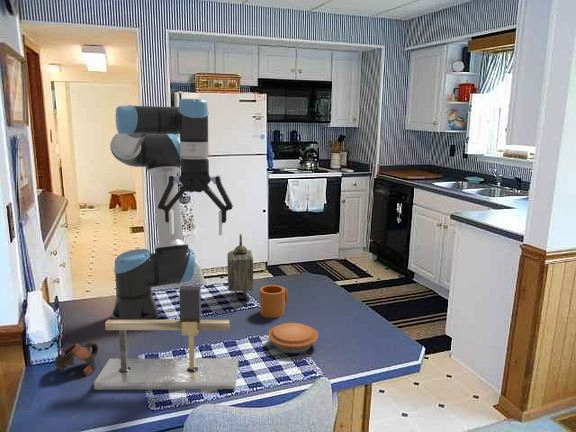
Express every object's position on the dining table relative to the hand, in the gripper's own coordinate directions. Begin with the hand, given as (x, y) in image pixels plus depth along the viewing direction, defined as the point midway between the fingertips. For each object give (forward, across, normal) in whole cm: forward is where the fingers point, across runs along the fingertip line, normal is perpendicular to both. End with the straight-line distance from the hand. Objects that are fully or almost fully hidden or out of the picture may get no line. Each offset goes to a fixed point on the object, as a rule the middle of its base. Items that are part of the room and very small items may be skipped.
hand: (196, 234), depth 130 cm
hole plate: (+37, -6, -12) cm, 39 cm away
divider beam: (+35, -6, -12) cm, 37 cm away
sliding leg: (+34, 0, -12) cm, 36 cm away
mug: (+37, +23, +31) cm, 53 cm away
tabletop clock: (+37, +9, +46) cm, 60 cm away
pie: (+37, +28, +6) cm, 47 cm away
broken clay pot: (+37, -32, -8) cm, 49 cm away
